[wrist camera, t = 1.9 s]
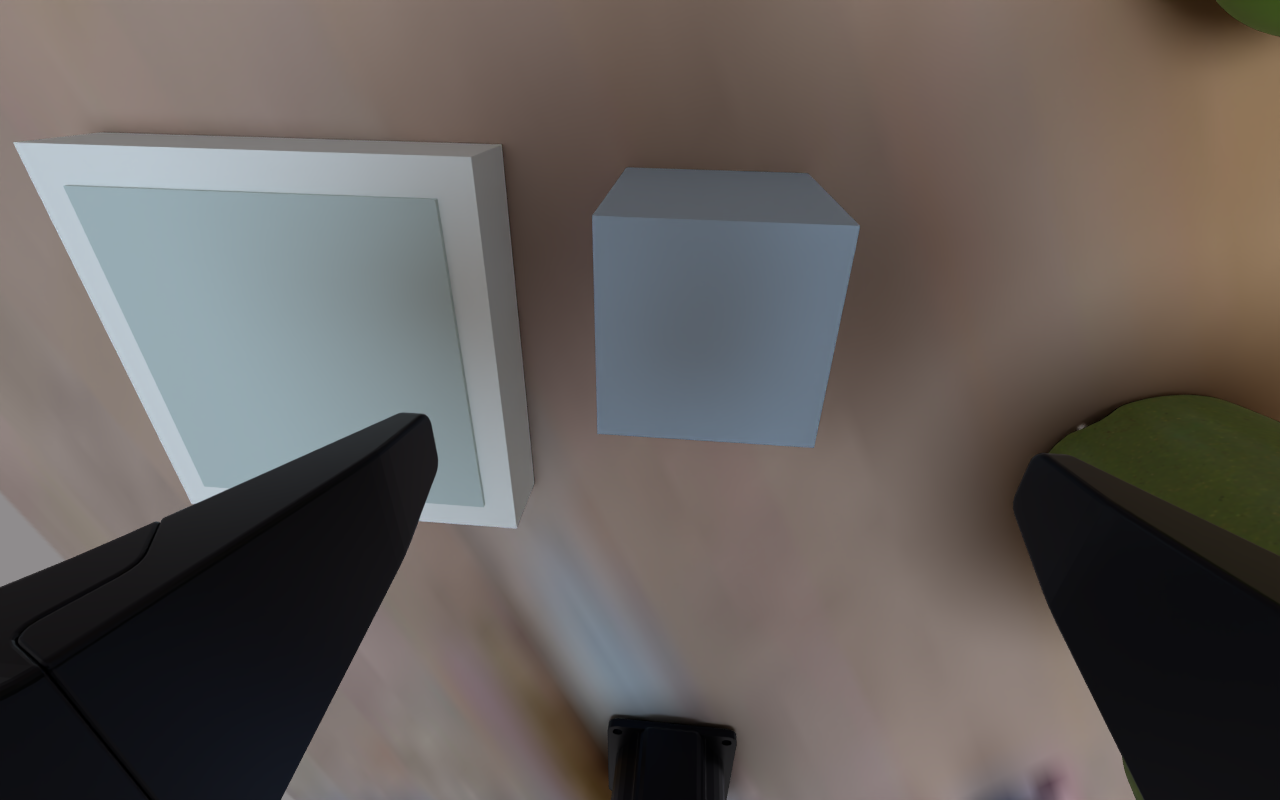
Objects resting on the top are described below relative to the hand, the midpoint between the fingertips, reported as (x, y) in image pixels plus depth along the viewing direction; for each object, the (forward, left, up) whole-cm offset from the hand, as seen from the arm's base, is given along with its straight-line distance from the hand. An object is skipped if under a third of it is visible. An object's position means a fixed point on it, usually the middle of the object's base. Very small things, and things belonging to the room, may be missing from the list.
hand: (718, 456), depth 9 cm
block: (0, 0, -10) cm, 10 cm away
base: (-3, +12, -10) cm, 16 cm away
